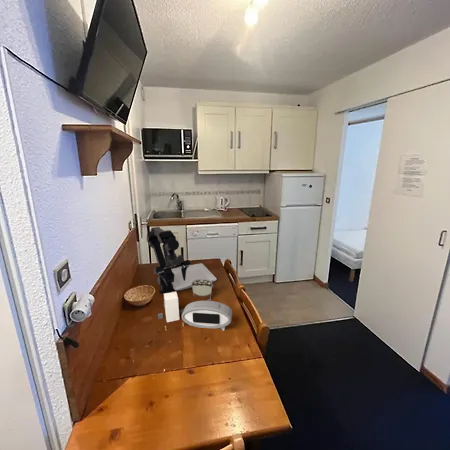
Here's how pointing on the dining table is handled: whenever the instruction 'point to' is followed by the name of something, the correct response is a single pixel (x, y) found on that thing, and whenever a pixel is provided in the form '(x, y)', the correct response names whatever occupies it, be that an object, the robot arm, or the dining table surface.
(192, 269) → the square plate
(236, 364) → the dining table surface
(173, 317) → the block
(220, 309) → the alarm clock
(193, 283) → the food container
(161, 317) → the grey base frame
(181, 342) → the dining table surface
